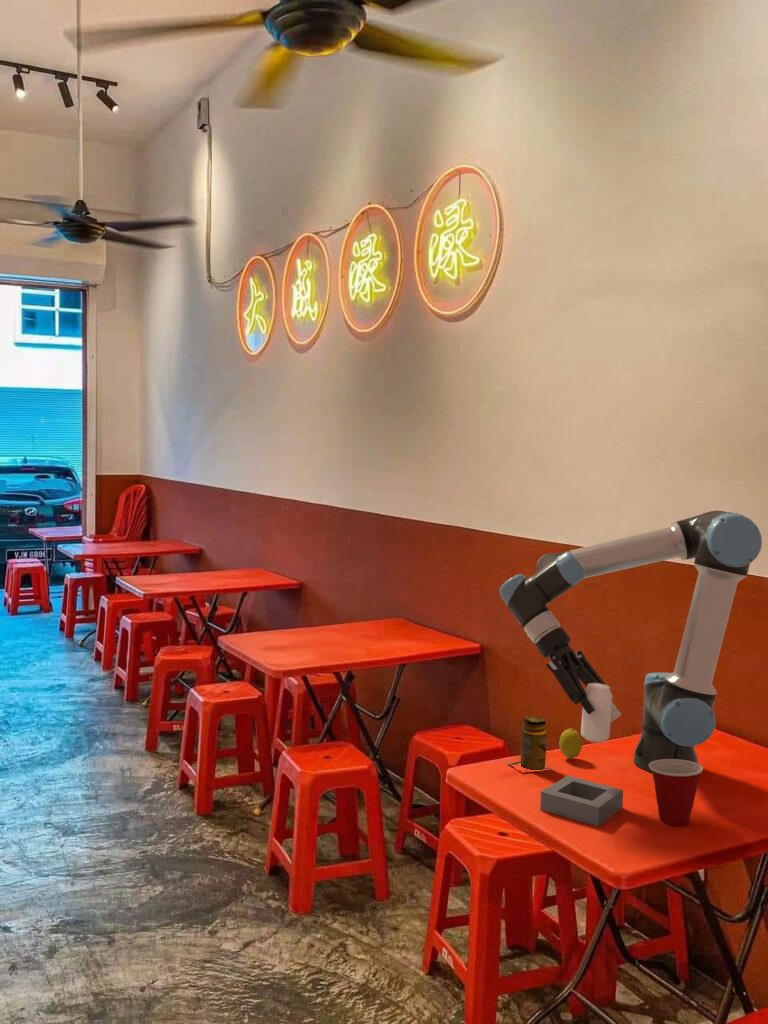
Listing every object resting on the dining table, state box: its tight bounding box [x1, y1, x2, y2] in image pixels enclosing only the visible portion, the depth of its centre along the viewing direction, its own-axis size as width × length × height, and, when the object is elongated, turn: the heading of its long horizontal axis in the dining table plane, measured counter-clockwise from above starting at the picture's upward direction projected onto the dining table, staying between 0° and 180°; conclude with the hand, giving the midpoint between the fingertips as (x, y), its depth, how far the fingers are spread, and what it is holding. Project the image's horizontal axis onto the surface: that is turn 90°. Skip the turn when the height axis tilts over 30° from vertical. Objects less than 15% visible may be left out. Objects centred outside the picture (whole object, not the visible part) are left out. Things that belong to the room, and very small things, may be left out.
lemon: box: [558, 727, 583, 760], centre depth 219 cm, size 6×6×8 cm
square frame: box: [539, 775, 624, 828], centre depth 187 cm, size 13×13×4 cm
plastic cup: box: [649, 759, 704, 827], centre depth 182 cm, size 11×11×12 cm
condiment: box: [506, 715, 553, 771], centre depth 213 cm, size 7×8×12 cm
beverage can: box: [580, 683, 613, 743], centre depth 193 cm, size 6×6×12 cm
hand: (609, 721), depth 191 cm, fingers closed on beverage can, 6 cm apart
